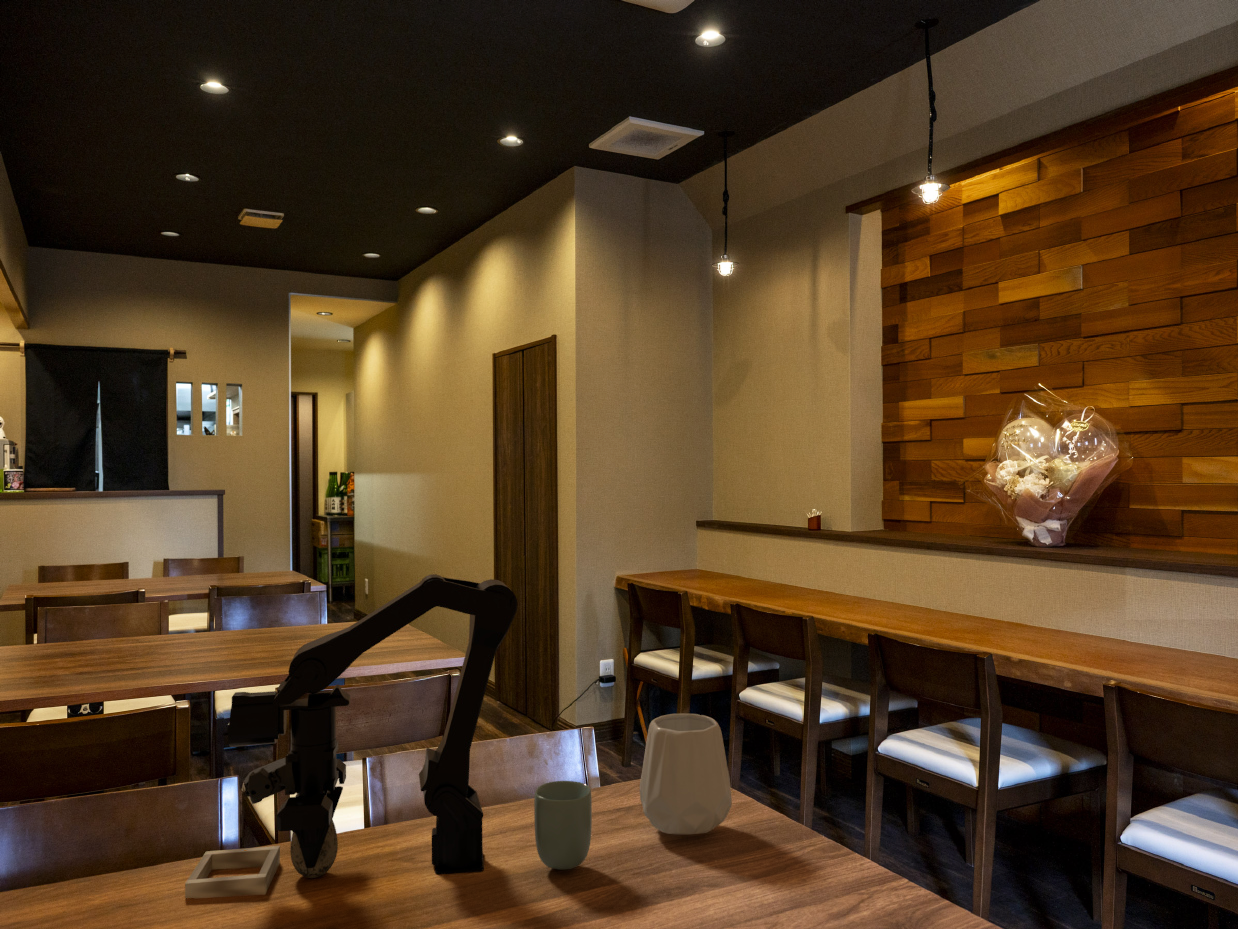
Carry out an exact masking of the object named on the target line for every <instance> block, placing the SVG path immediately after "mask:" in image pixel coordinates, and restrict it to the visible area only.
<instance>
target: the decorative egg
mask: <svg viewBox="0 0 1238 929" xmlns="http://www.w3.org/2000/svg"><path fill="white" fill-rule="evenodd" d="M333 819H334V818H333ZM333 819H332V821H331V824H330V827H329V830H328V832H327V835H326V838H325V841H324V844H323V846H322V849H321V852H320V854H319V857H318V860H317V863H316V865H315V867H314V868H306V866H305V862H304V859H303V855H302V852H301V849H300V845H299V842H298V839H297V836H296V834H295V833H294V832H293V831H292V833H291V834H292V835H291V840H290V852H289V853H290V860H291V863H292V865H293V869H295V871H296V872H297V873H298V874H300V875H301V876H302V877H305V878H308V879H315V878H319V877H322V876H323V875H325V874H326V873H327V872H328V871H329V870H330V869H332V868H331V867H332V866H333V865H334V863H335V861H336V858H337V854H338V847H339V845H338V844H339V842H338V841H339V840H338V834H337V829H336V825H335V823H334V820H333Z"/></svg>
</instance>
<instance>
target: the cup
mask: <svg viewBox="0 0 1238 929" xmlns="http://www.w3.org/2000/svg"><path fill="white" fill-rule="evenodd" d="M592 799H593V798H592V789H591V787H590V785H588V784H587V783H584V782H580V781H576V780H575V781H574V780H556V781H555V780H554V781H550V782H546V783H543V784H541V785H539V786H538V787H537V788H536V789H535V792H534V800H533V801H534V804H533V807H534V808H533V809H534V818H533V819H534V820H533V821H534V838H535V846H536V850H537V854H538V856H539V859H540V860H541V862H542V863H543V864H544V866H546V867H547V868H551V869H552V870H553V869H554V870H560V871H561V870H562V871H564V870H565V871H566V870H572V869H575V868H578V866H581V865H582V864H583V863H584V861H585V860H586V858H587V857H588V854H589V851H590V848H591V847H590V846H591V840H592V828H593V827H592V819H593V817H592V816H593V814H592V813H593V811H592V810H593V809H592V808H593V807H592V804H593V802H592Z"/></svg>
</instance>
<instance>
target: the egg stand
mask: <svg viewBox="0 0 1238 929" xmlns="http://www.w3.org/2000/svg"><path fill="white" fill-rule="evenodd" d="M244 850H247V851H244ZM280 850H281V845H272V846H260V847H258V846H257V847H248V848H246V847H245V848H235V849H233V848H231V849H223V850H222V849H221V850H210V851H208V850H206V851H205V853H204V854H203V856H202V857H201V859H200V860H199V861H198V863H197V865H196V866H195V868H194V869H193V871H192V872H191V874H190V876H189V877H188V878H187V880H186V881H185V883H184V898H194V899H209V898H211V899H212V898H226V897H245V896H256V895H257V896H260V895H266V894H267V892H268V889H269V887H270V885H271V884H272V880H273V879H274V877H275V875H276V872H277V870H278V868H279V866H280V864H281V851H280ZM249 868H261V869H260V871H259V873H258V874H245V875H232V876H221V877H209V878H208V876H209V875H210V874H209V873H211V872H212V870H227V869H228V870H229V869H231V870H232V869H233V870H234V869H249Z"/></svg>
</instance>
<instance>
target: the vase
mask: <svg viewBox="0 0 1238 929" xmlns="http://www.w3.org/2000/svg"><path fill="white" fill-rule="evenodd" d="M721 729H722V728H721V727H720V725H719V723H718V721H717V720H715V719H714V718H712V717H710V716H707V715H704V714H701V715H700V714H698V713H687V712H686V713H682V712H681V713H670V714H665V715H660V716H658V717H656V718H654V719H652V720H651V722H650V723H649V725H648V730H647V737H646V742H645V750H644V757H643V762H642V770H641V777H640V781H639V800H640V803H641V806H642V808H643V814H644V816H645V817H646V819H648V820H649V822H650V824H651V826H652V827H653V828H654V829H656V830H658V831H660V832H662V833H664V834H668V835H699V834H707V833H709V832H711V831H713V829H716V827H718V826H720V825H721V824H722V823H723V822H725V820H726V819H727V817H728V815H729V812H730V811H731V808H732V806H733V800H732V790H731V780H730V779H731V778H730V774H729V773H730V772H729V768H728V762H727V757H726V750H725V746H724V739H723V738H724V737H723V734H722V730H721Z"/></svg>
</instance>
